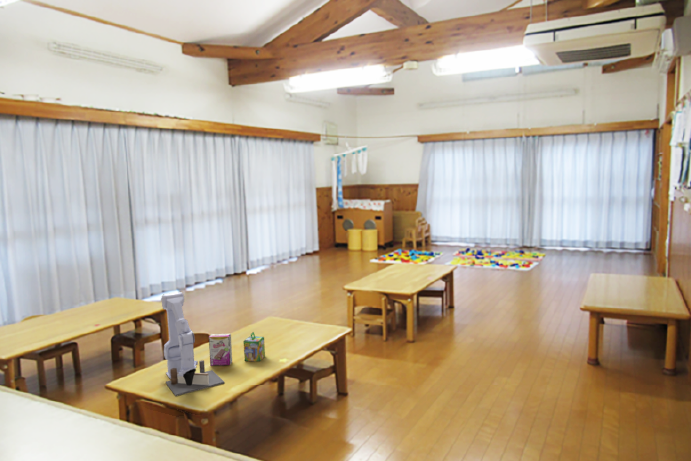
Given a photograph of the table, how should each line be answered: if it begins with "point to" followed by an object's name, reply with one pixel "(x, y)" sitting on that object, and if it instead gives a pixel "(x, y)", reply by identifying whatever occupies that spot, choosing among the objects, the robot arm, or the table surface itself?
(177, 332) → the robot arm
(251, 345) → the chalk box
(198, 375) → the gate
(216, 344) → the candy bar box
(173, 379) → the gate posts
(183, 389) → the mat
